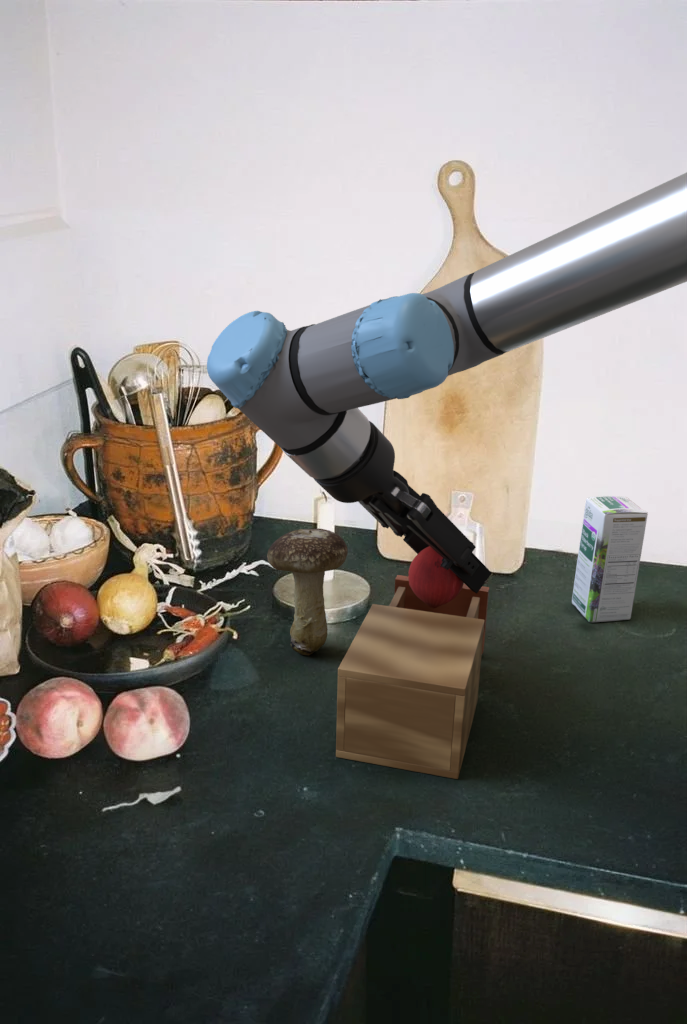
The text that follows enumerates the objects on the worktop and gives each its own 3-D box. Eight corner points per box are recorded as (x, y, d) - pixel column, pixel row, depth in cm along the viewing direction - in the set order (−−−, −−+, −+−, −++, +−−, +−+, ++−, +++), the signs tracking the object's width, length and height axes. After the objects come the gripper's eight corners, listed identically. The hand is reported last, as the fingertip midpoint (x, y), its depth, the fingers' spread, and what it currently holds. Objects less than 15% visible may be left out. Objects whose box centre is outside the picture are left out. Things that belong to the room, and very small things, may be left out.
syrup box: (569, 602, 120) (582, 496, 114) (612, 600, 121) (627, 494, 115) (588, 623, 114) (603, 513, 109) (633, 620, 115) (650, 510, 110)
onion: (468, 602, 101) (474, 534, 98) (451, 624, 96) (456, 553, 93) (417, 591, 103) (422, 524, 101) (398, 612, 99) (402, 542, 96)
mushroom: (291, 682, 100) (292, 554, 95) (252, 647, 107) (251, 526, 102) (363, 659, 105) (368, 536, 100) (322, 627, 112) (325, 510, 106)
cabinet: (369, 683, 100) (372, 603, 97) (477, 701, 98) (484, 619, 94) (335, 757, 88) (337, 668, 85) (458, 779, 85) (465, 688, 82)
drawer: (402, 617, 113) (405, 558, 110) (489, 629, 110) (494, 569, 108) (368, 691, 97) (371, 624, 94) (468, 707, 95) (474, 639, 92)
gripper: (429, 442, 79) (545, 574, 94) (309, 394, 93) (427, 516, 108) (376, 512, 78) (502, 634, 93) (264, 453, 92) (388, 568, 107)
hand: (461, 571), depth 101 cm, fingers closed on onion, 6 cm apart
